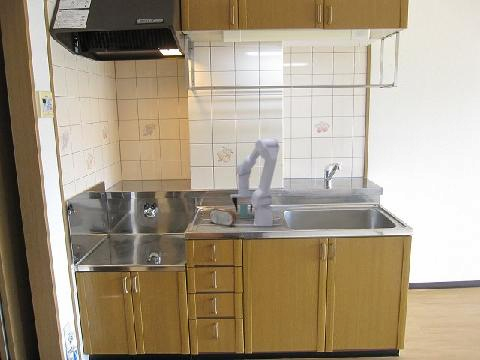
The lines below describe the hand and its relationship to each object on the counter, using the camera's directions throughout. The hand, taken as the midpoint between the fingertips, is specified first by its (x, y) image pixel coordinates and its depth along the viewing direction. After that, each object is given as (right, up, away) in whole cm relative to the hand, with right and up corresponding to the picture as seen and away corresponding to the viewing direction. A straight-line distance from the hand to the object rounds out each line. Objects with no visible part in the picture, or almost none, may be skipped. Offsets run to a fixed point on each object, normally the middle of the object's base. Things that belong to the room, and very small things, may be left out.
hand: (243, 211), depth 212 cm
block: (0, -3, +1) cm, 3 cm away
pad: (0, -3, +1) cm, 3 cm away
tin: (-11, -6, -12) cm, 17 cm away
